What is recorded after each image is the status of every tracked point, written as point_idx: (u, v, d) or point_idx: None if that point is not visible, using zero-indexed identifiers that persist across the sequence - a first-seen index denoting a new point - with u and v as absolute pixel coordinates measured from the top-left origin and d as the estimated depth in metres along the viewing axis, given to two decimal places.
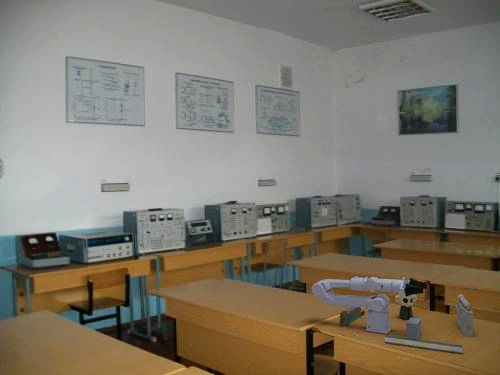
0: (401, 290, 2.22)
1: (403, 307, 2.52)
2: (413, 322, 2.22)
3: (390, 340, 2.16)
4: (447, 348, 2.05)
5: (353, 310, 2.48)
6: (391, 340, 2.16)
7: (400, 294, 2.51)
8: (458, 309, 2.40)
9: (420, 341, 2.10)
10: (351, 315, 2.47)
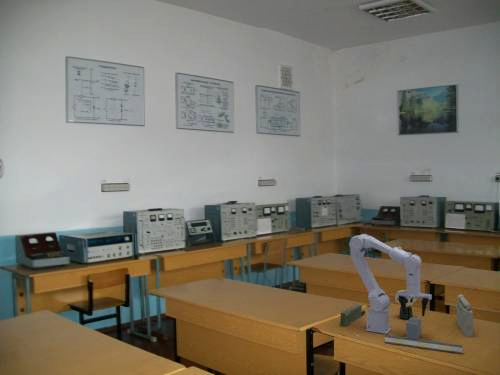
0: None
1: None
2: (413, 322, 2.22)
3: (390, 340, 2.16)
4: (447, 348, 2.05)
5: (353, 310, 2.48)
6: (391, 340, 2.16)
7: None
8: (458, 309, 2.40)
9: (420, 341, 2.10)
10: (351, 315, 2.47)
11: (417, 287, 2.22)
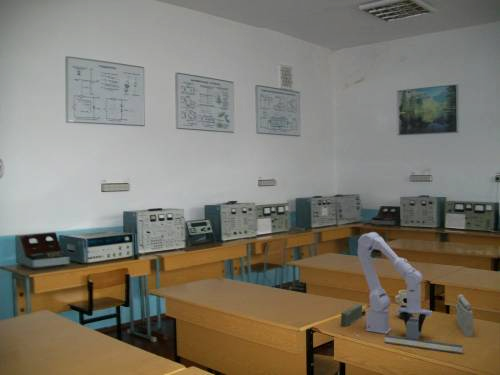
0: None
1: None
2: (413, 322, 2.22)
3: (390, 340, 2.16)
4: (447, 348, 2.05)
5: (354, 310, 2.48)
6: (391, 340, 2.16)
7: (400, 294, 2.51)
8: (458, 309, 2.40)
9: (420, 341, 2.10)
10: (352, 315, 2.46)
11: (417, 303, 2.22)
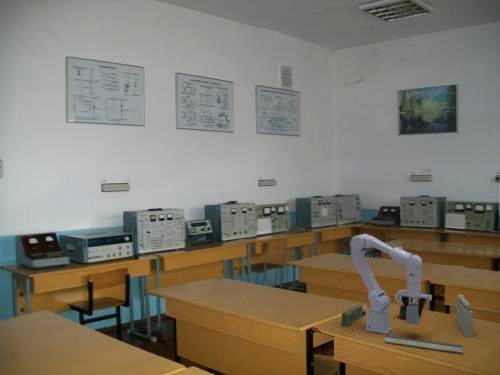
0: None
1: (403, 307, 2.52)
2: (413, 306, 2.22)
3: (390, 340, 2.16)
4: (447, 348, 2.05)
5: (355, 310, 2.48)
6: (391, 340, 2.16)
7: None
8: (458, 309, 2.40)
9: (420, 341, 2.10)
10: (353, 315, 2.46)
11: (417, 287, 2.22)
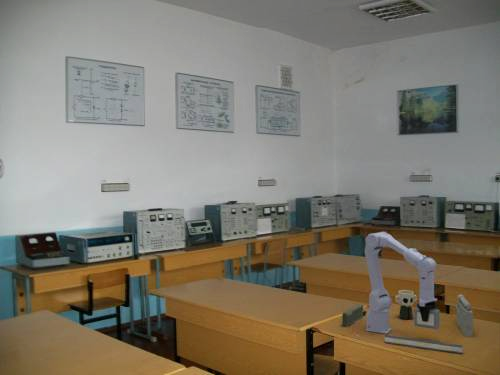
0: (422, 303, 2.11)
1: (403, 307, 2.52)
2: (433, 310, 2.16)
3: (390, 340, 2.16)
4: (447, 348, 2.05)
5: (355, 310, 2.48)
6: (391, 340, 2.16)
7: (400, 294, 2.51)
8: (458, 309, 2.40)
9: (420, 341, 2.10)
10: (353, 315, 2.46)
11: None
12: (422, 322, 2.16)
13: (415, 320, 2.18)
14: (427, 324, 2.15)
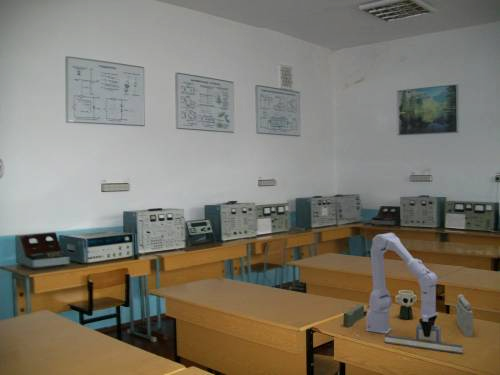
0: (425, 318, 2.10)
1: (403, 307, 2.52)
2: (435, 327, 2.15)
3: (390, 340, 2.16)
4: (447, 348, 2.05)
5: (356, 310, 2.48)
6: (391, 340, 2.16)
7: (400, 294, 2.51)
8: (458, 309, 2.40)
9: (420, 341, 2.10)
10: (354, 315, 2.46)
11: None
12: (424, 339, 2.15)
13: (417, 337, 2.17)
14: None
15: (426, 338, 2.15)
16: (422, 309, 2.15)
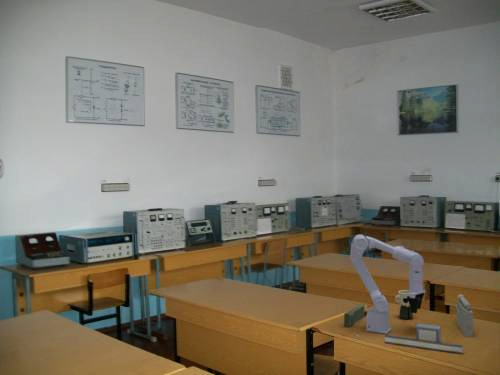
0: (412, 295, 2.25)
1: (403, 307, 2.52)
2: (435, 327, 2.16)
3: (390, 340, 2.16)
4: (447, 348, 2.05)
5: (357, 310, 2.47)
6: (391, 340, 2.16)
7: (400, 294, 2.51)
8: (458, 309, 2.40)
9: (420, 341, 2.10)
10: (355, 315, 2.46)
11: None
12: (424, 339, 2.15)
13: (417, 337, 2.17)
14: None
15: (426, 338, 2.15)
16: (410, 287, 2.30)
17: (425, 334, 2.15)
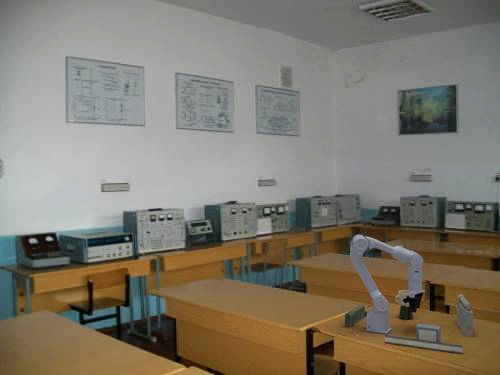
0: (412, 295, 2.26)
1: (403, 307, 2.52)
2: (435, 327, 2.16)
3: (390, 340, 2.16)
4: (447, 348, 2.05)
5: (357, 311, 2.47)
6: (391, 340, 2.16)
7: (400, 294, 2.51)
8: (458, 309, 2.40)
9: (420, 341, 2.10)
10: (356, 316, 2.46)
11: None
12: (424, 339, 2.15)
13: (417, 337, 2.17)
14: None
15: (426, 338, 2.15)
16: (409, 286, 2.31)
17: (424, 334, 2.15)
